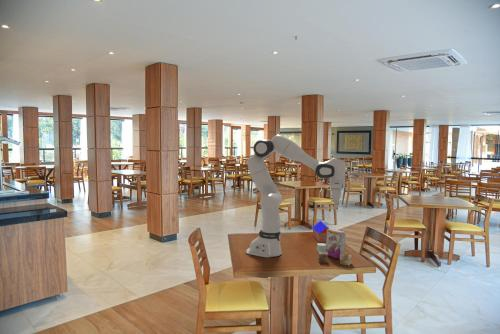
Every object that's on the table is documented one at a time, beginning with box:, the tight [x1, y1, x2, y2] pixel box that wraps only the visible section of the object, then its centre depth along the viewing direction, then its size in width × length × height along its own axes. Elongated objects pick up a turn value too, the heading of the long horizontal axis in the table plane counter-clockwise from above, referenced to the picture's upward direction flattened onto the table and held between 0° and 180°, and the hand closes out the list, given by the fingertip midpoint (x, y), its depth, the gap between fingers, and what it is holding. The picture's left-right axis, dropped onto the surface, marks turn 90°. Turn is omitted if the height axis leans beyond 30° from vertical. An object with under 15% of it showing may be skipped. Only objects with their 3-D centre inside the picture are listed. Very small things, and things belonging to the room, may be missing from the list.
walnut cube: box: [318, 252, 329, 264], centre depth 202 cm, size 5×5×5 cm
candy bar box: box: [325, 227, 346, 261], centre depth 210 cm, size 11×5×16 cm, turn 36°
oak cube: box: [339, 253, 353, 267], centre depth 198 cm, size 5×5×5 cm
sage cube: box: [316, 242, 326, 254], centre depth 220 cm, size 5×5×5 cm
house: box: [312, 220, 330, 243], centre depth 251 cm, size 12×20×12 cm, turn 3°
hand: (336, 206), depth 209 cm, fingers open, 7 cm apart
